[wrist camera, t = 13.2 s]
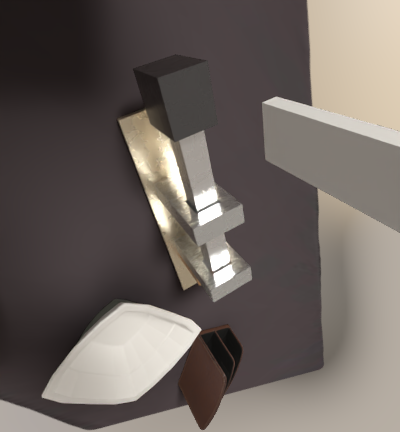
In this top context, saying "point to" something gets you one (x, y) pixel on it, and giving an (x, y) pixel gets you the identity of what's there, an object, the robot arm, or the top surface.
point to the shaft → (186, 132)
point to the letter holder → (210, 371)
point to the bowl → (121, 354)
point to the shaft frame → (183, 210)
